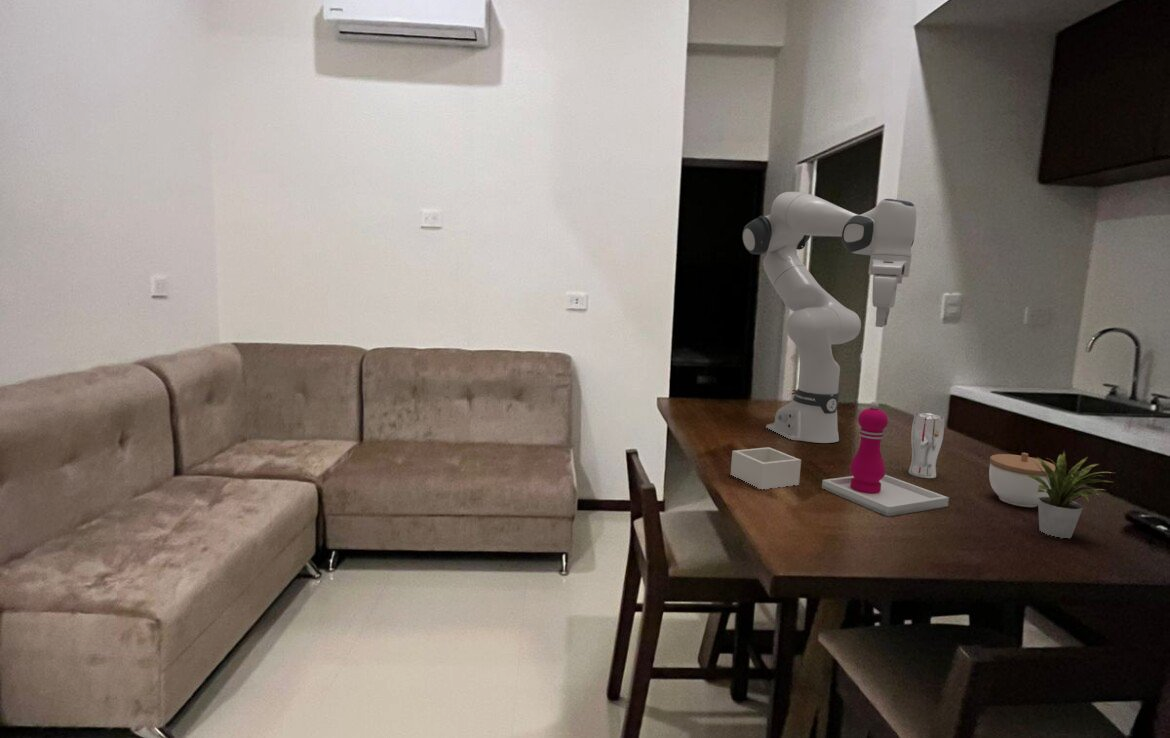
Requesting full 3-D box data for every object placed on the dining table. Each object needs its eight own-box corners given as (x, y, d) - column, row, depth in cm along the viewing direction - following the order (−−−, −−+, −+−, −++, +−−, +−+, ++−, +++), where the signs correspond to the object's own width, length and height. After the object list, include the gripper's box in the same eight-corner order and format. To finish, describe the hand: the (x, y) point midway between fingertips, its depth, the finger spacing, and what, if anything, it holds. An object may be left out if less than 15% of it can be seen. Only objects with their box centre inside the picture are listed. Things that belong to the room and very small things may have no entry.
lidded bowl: (972, 494, 147) (978, 447, 145) (1008, 489, 152) (1015, 444, 150) (1028, 514, 136) (1036, 464, 134) (1065, 508, 141) (1073, 459, 139)
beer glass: (906, 475, 160) (913, 416, 157) (907, 468, 166) (913, 411, 163) (938, 481, 156) (945, 420, 154) (937, 473, 162) (945, 415, 160)
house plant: (1070, 555, 116) (1084, 467, 113) (994, 526, 128) (1006, 446, 126) (1116, 544, 122) (1131, 460, 119) (1040, 517, 134) (1052, 441, 132)
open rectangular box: (730, 475, 154) (732, 450, 153) (767, 470, 159) (769, 447, 158) (760, 490, 144) (763, 464, 143) (798, 485, 149) (801, 459, 148)
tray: (821, 488, 147) (822, 479, 147) (878, 480, 155) (879, 472, 154) (887, 516, 131) (888, 507, 131) (947, 506, 139) (948, 497, 138)
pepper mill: (856, 481, 151) (865, 397, 148) (888, 489, 146) (898, 402, 142) (842, 487, 146) (851, 400, 143) (875, 496, 140) (885, 406, 137)
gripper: (878, 269, 165) (870, 323, 167) (871, 265, 147) (862, 326, 149) (905, 271, 162) (897, 326, 164) (901, 267, 144) (892, 329, 146)
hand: (880, 326), depth 156 cm, fingers open, 8 cm apart
